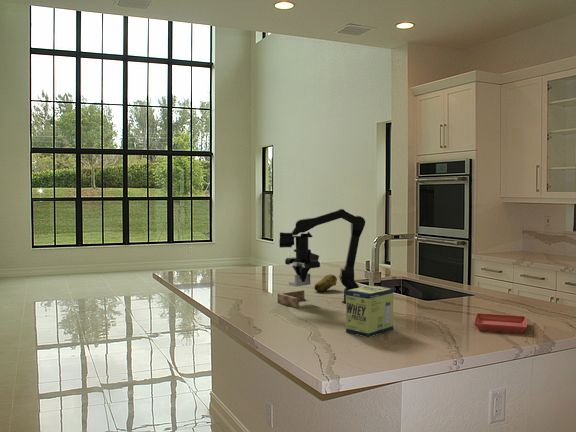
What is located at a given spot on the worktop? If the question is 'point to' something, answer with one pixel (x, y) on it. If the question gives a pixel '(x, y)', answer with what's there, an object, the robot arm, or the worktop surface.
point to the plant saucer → (500, 322)
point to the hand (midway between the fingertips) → (302, 281)
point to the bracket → (300, 280)
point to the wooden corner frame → (291, 298)
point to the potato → (326, 283)
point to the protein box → (369, 310)
